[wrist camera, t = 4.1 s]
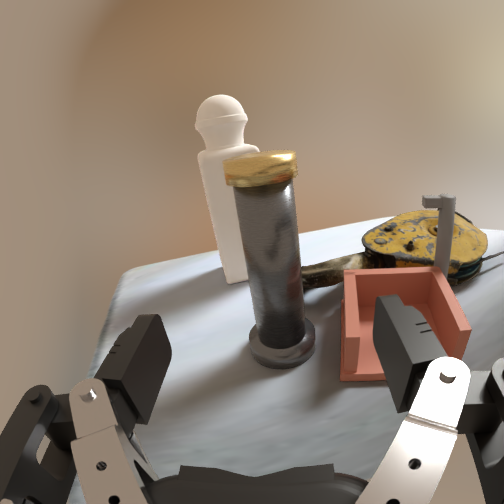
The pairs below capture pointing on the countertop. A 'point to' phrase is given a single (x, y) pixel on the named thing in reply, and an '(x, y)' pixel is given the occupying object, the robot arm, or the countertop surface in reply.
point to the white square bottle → (223, 176)
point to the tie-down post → (272, 255)
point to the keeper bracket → (411, 294)
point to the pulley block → (407, 250)
